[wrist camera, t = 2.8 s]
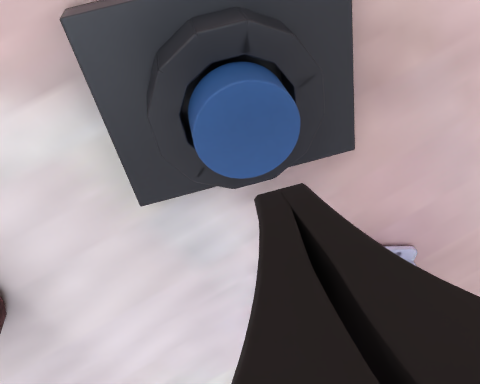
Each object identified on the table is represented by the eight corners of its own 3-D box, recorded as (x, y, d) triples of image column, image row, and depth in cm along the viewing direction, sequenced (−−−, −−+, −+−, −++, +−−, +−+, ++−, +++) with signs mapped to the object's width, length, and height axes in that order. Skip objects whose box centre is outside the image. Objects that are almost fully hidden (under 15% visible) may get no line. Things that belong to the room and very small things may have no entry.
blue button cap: (280, 49, 16) (295, 66, 14) (291, 140, 18) (305, 164, 17) (175, 75, 16) (179, 96, 14) (201, 164, 18) (207, 190, 16)
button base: (336, -58, 17) (375, -47, 14) (343, 135, 22) (372, 171, 19) (64, 8, 16) (49, 34, 14) (140, 189, 22) (140, 234, 19)
